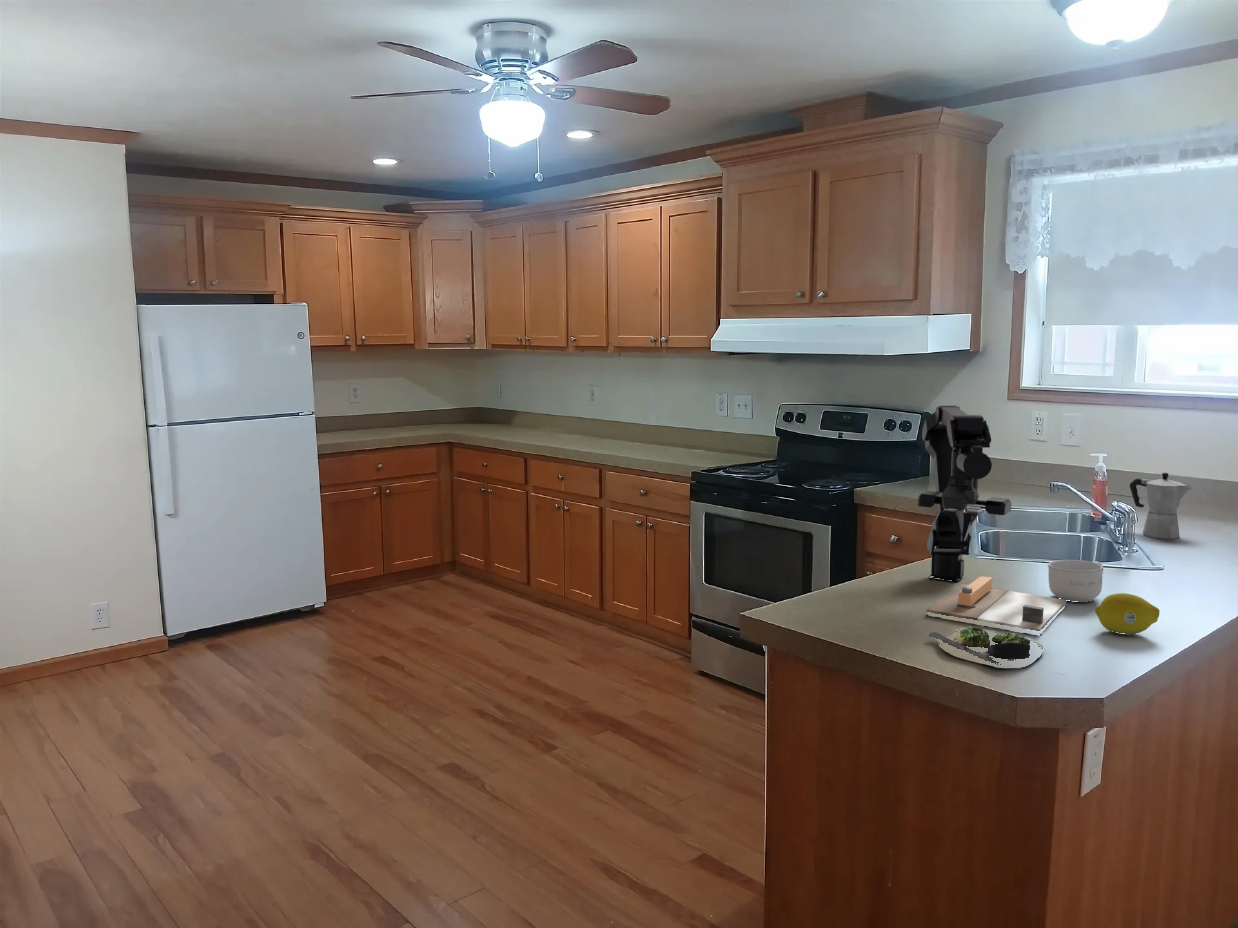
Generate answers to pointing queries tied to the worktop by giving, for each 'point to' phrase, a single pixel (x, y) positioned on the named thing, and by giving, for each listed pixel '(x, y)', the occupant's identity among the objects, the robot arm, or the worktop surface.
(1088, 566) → the teacup
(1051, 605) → the door and jamb
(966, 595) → the bar
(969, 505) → the robot arm
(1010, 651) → the salad plate
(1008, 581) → the worktop surface
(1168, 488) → the coffeepot
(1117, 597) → the lemon
